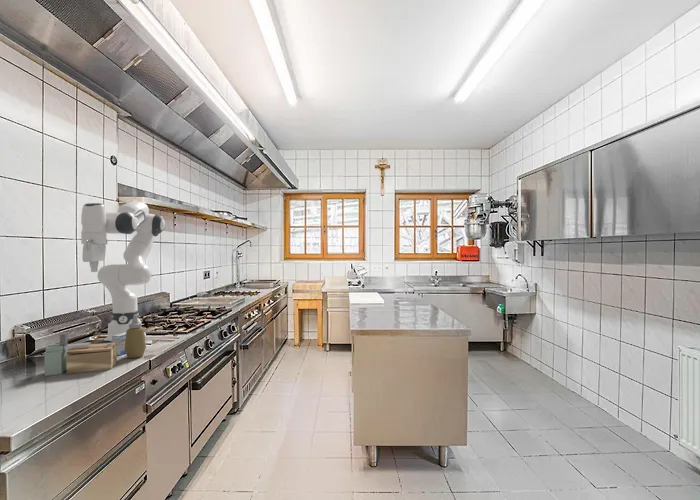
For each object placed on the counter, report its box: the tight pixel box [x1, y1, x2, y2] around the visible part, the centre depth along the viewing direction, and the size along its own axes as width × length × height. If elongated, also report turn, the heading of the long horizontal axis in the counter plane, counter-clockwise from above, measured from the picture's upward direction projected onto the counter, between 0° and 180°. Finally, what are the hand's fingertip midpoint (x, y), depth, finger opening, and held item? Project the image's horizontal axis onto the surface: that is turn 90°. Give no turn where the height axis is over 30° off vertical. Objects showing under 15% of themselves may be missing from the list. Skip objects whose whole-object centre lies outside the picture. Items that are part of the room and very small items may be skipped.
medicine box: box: [111, 332, 126, 356], centre depth 158 cm, size 8×4×9 cm, turn 168°
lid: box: [67, 342, 117, 354], centre depth 138 cm, size 10×14×1 cm
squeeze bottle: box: [124, 315, 147, 359], centre depth 152 cm, size 8×8×18 cm
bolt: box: [59, 332, 92, 351], centre depth 136 cm, size 3×9×6 cm, turn 113°
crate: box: [66, 345, 118, 375], centre depth 138 cm, size 10×14×7 cm
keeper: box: [44, 343, 69, 377], centre depth 133 cm, size 7×5×10 cm
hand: (94, 271), depth 151 cm, fingers closed
